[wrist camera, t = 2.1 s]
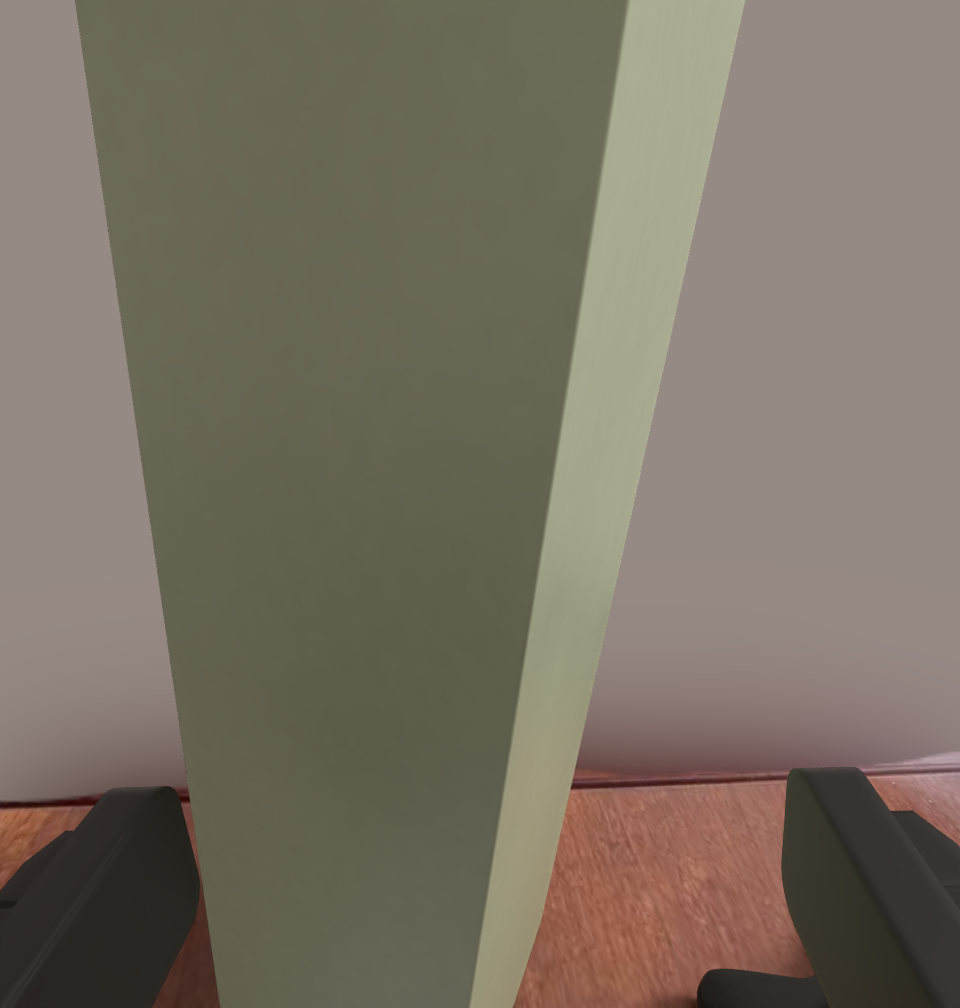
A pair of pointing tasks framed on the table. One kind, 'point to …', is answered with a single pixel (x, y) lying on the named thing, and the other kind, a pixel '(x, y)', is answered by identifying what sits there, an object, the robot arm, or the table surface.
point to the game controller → (758, 990)
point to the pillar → (392, 439)
